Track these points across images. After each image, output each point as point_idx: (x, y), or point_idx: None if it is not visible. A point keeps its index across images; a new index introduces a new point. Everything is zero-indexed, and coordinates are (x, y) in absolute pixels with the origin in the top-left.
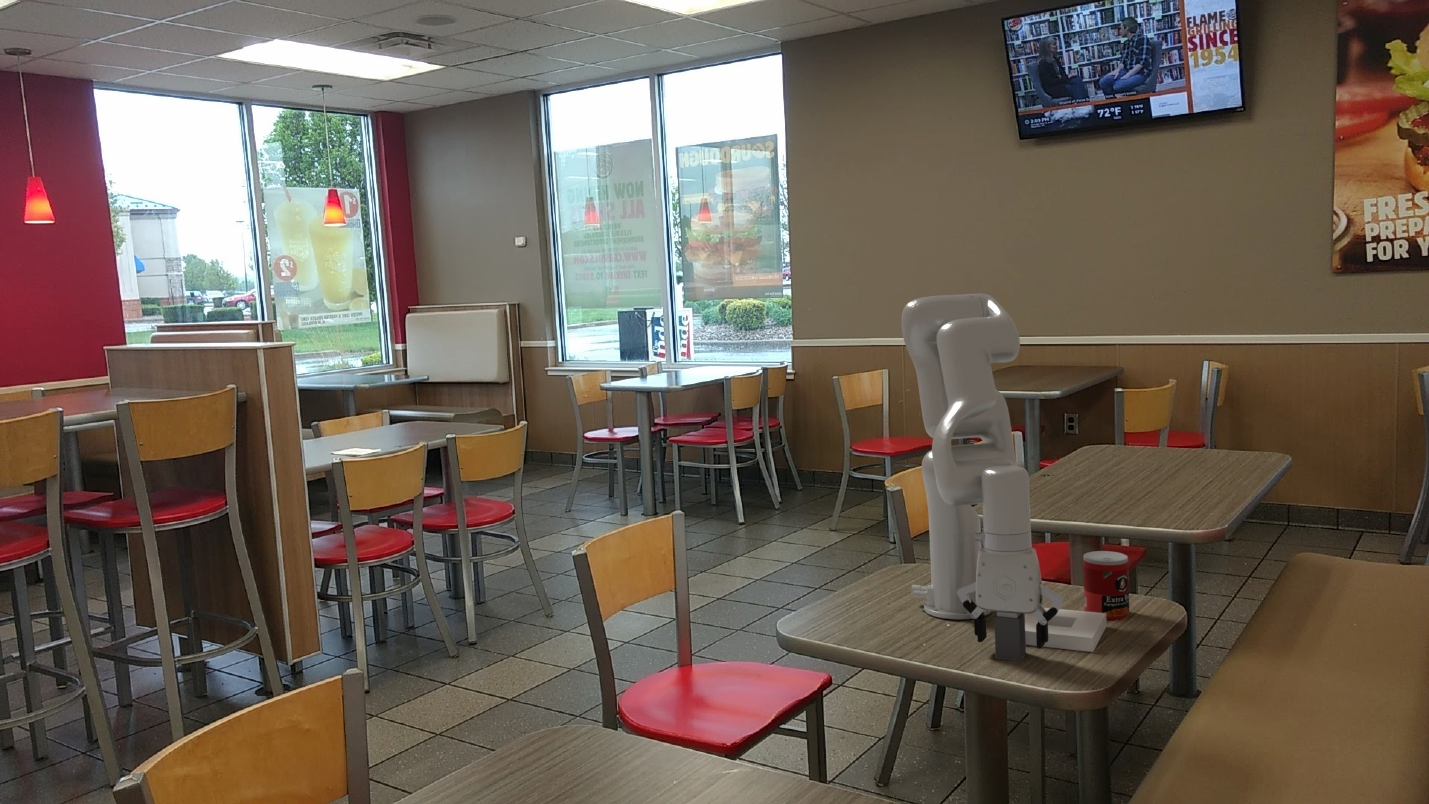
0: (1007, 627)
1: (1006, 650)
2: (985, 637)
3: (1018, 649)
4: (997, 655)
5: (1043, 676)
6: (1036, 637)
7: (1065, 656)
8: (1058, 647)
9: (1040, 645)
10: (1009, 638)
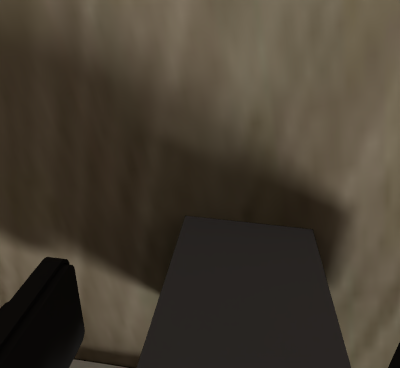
0: None
1: (253, 251)
2: (394, 363)
3: (181, 252)
4: (304, 237)
5: (7, 14)
6: (37, 309)
7: None
8: (78, 362)
9: (40, 266)
10: (230, 308)
